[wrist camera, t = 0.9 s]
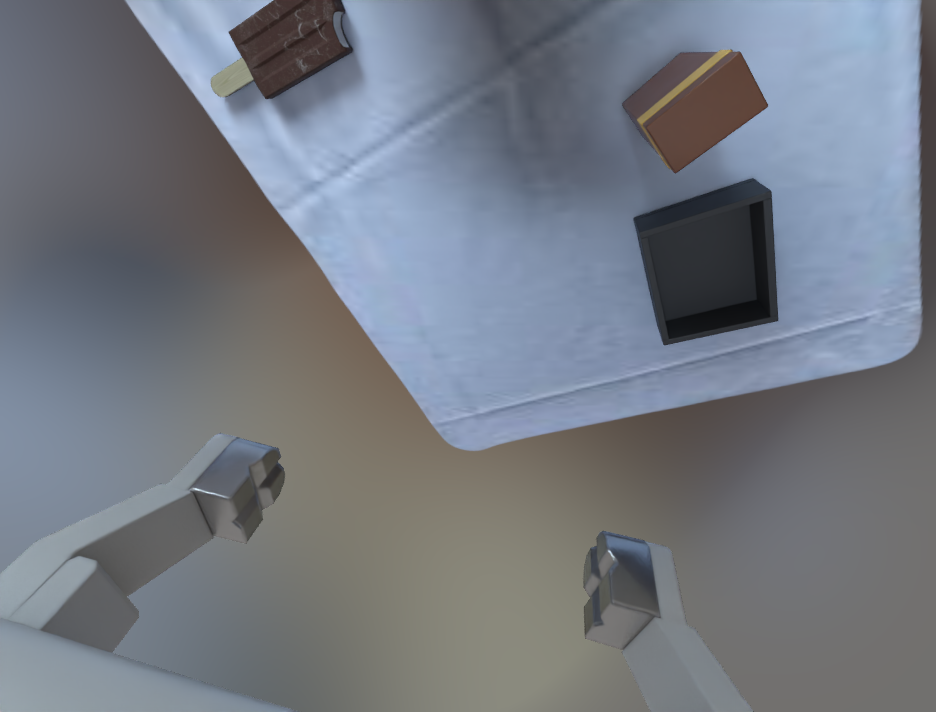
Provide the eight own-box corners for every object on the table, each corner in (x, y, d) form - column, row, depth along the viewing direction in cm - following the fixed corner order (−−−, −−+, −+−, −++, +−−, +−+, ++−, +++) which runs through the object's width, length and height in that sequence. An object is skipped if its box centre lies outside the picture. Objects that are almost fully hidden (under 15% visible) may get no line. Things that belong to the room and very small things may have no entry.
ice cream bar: (238, 119, 41) (361, 47, 35) (227, 121, 40) (353, 46, 34) (201, 58, 38) (328, -30, 33) (188, 58, 37) (318, -34, 32)
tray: (633, 218, 39) (639, 232, 36) (753, 178, 35) (771, 190, 32) (657, 324, 45) (663, 345, 41) (762, 300, 41) (778, 321, 38)
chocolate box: (620, 103, 34) (644, 127, 23) (681, 50, 31) (741, 48, 20) (642, 137, 35) (674, 175, 24) (702, 88, 32) (771, 106, 21)
